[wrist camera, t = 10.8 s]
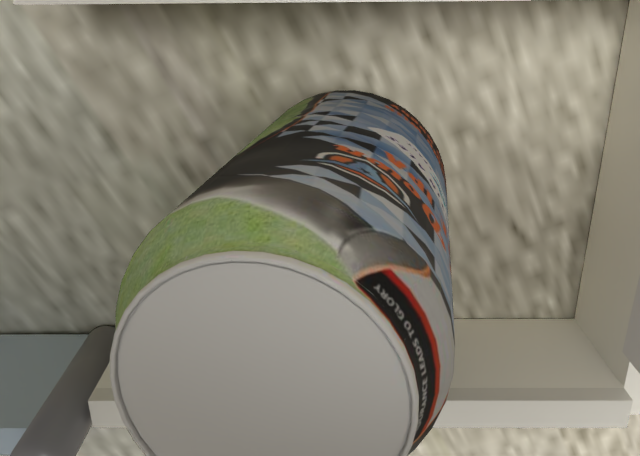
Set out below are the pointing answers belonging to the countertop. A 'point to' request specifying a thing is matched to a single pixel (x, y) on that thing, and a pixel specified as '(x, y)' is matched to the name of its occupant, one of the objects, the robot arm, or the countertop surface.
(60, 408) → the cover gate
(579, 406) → the grey low-walled frame
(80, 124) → the countertop surface
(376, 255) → the beverage can
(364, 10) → the countertop surface
